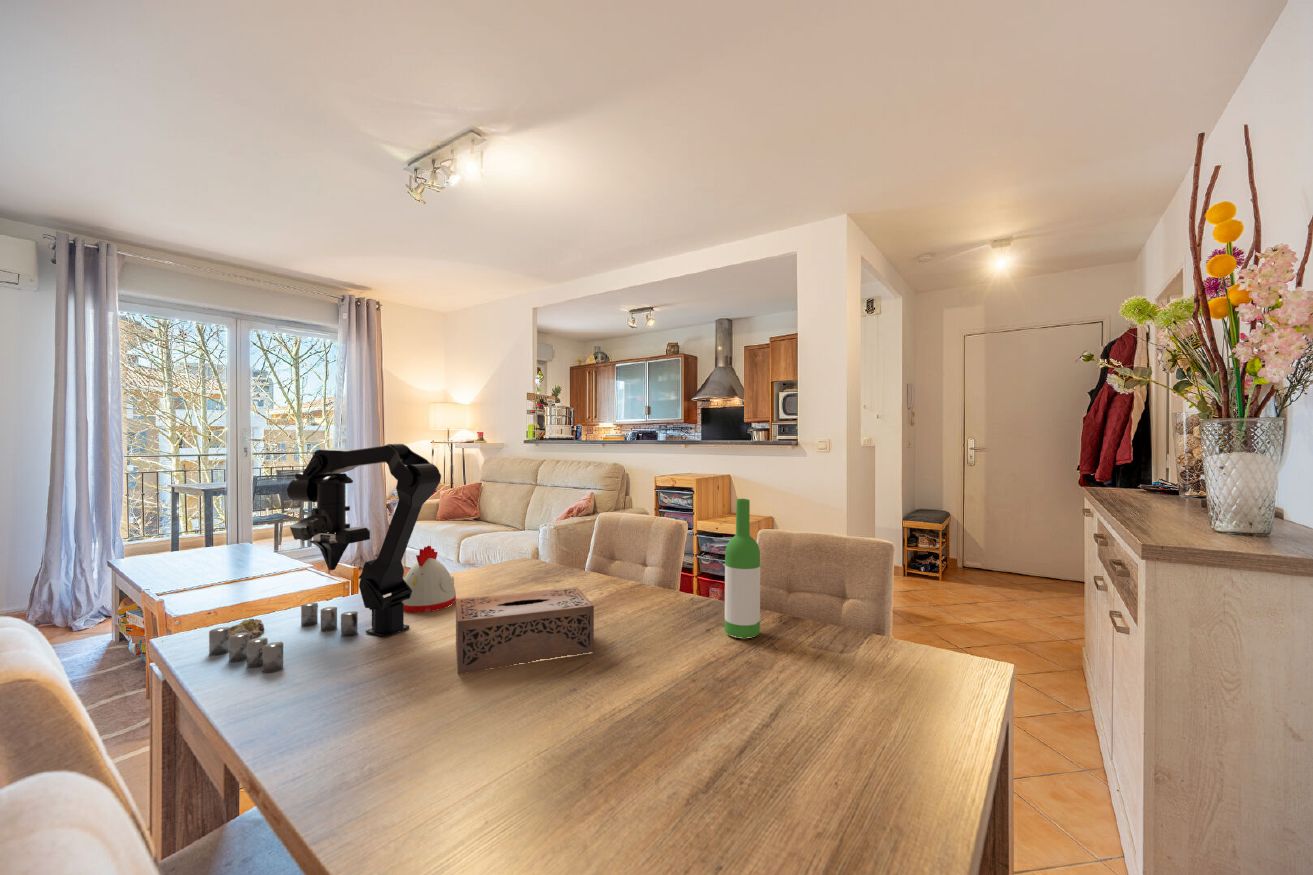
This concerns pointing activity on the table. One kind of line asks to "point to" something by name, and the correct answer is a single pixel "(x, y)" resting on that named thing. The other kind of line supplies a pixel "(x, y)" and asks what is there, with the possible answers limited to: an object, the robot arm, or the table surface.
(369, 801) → the table surface
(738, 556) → the wine bottle
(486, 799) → the table surface
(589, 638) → the tissue box cover
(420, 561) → the kitchen timer
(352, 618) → the spacer posts
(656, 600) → the table surface
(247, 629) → the mineral rock
